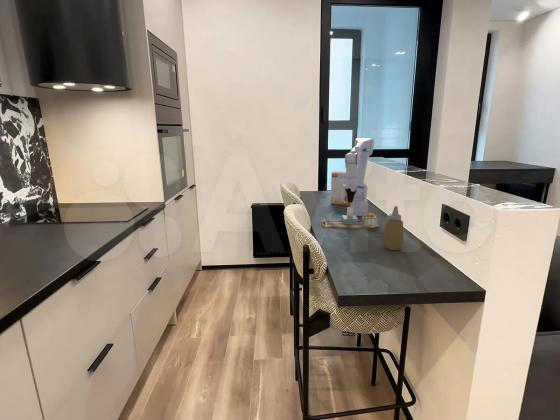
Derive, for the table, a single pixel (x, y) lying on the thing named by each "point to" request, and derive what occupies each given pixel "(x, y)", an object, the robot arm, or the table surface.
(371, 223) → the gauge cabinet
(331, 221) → the rail track
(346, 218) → the carriage
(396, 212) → the squeeze bottle
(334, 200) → the cracker box
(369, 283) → the table surface
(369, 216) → the button
